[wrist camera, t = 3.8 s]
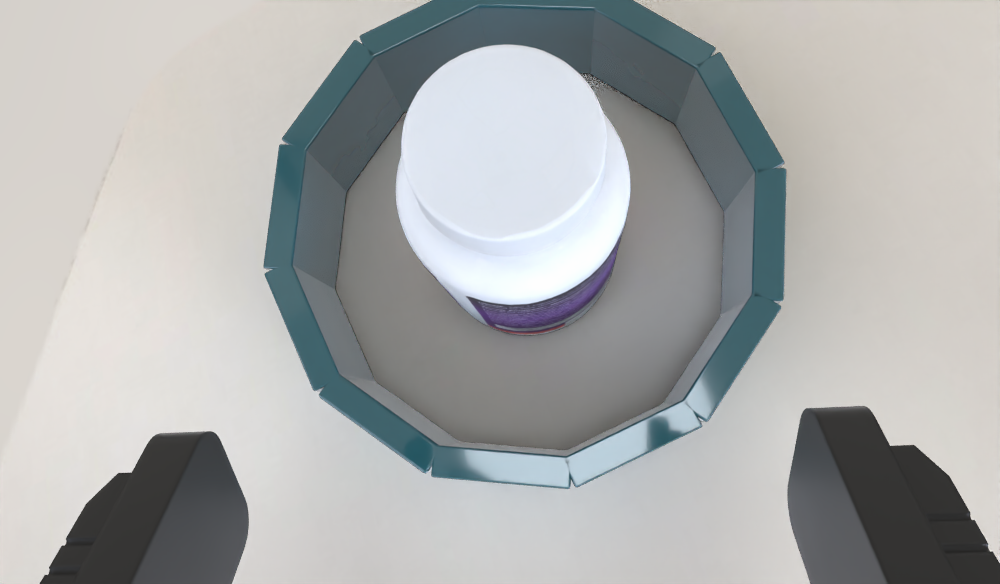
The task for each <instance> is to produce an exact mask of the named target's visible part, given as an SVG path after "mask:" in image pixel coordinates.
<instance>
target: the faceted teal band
mask: <svg viewBox="0 0 1000 584" xmlns="http://www.w3.org/2000/svg"><path fill="white" fill-rule="evenodd" d="M360 40H361V42H362V44H361V43H360V42H358V41H357V40H354V41H353V43H352V44H351V45H350V47H349V48H348V49H347V51H346V52H345V54H344V55H343V56H342V58H341V59H340V60H339V62H338V63H337V64H336V66H335V67H334V68H333V70H332V71H331V73H330V74H329V75H328V77H327V78H326V79H325V81H324V82H323V83H322V85H321V86H320V87H319V89H318V90H317V92H316V93H315V94H314V96H313V97H312V98H311V100H310V101H309V102H308V104H307V105H306V106H305V108H304V109H303V111H302V112H301V113H300V115H299V116H298V117H297V119H296V120H295V121H294V123H293V124H292V125H291V127H290V128H289V130H288V131H287V132H286V134H285V135H284V136H283V138H282V140H283V141H284V142H285V143H286V144H287V145H285V144H281V145H279V151H278V159H277V167H276V174H275V182H274V190H273V197H272V205H271V213H270V220H269V228H268V236H267V243H266V251H265V259H264V268H265V269H267V270H269V271H268V272H266V273H265V277H266V279H267V282H268V284H269V287H270V289H271V291H272V294H273V296H274V298H275V301H276V303H277V306H278V308H279V310H280V313H281V315H282V317H283V320H284V322H285V324H286V327H287V329H288V332H289V334H290V336H291V339H292V341H293V343H294V346H295V348H296V350H297V353H298V355H299V358H300V360H301V362H302V365H303V367H304V369H305V372H306V374H307V377H308V379H309V381H310V384H311V386H312V388H313V390H314V391H319V392H320V394H319V397H320V398H321V399H322V400H324V401H325V402H326V403H328V404H329V405H331V406H332V407H333V408H335V409H336V410H337V411H339V412H340V413H342V414H343V415H344V416H346V417H347V418H348V419H350V420H351V421H353V422H354V423H355V424H357V425H358V426H359V427H361V428H362V429H364V430H365V431H366V432H368V433H369V434H370V435H372V436H373V437H375V438H376V439H377V440H379V441H380V442H381V443H383V444H384V445H385V446H387V447H388V448H390V449H391V450H392V451H394V452H395V453H396V454H398V455H399V456H401V457H402V458H403V459H405V460H406V461H407V462H409V463H410V464H412V465H413V466H414V467H416V468H417V469H418V470H420V471H421V472H423V473H428V472H431V476H432V477H437V478H448V479H459V480H471V481H482V482H493V483H505V484H516V485H527V486H539V487H550V488H562V489H570V484H571V480H572V482H573V484H574V486H575V487H579V486H581V485H583V484H586V483H588V482H590V481H592V480H594V479H596V478H598V477H600V476H602V475H604V474H606V473H608V472H610V471H612V470H614V469H617V468H619V467H621V466H623V465H625V464H627V463H629V462H631V461H633V460H635V459H637V458H639V457H641V456H643V455H645V454H647V453H650V452H652V451H654V450H656V449H658V448H660V447H662V446H664V445H666V444H668V443H670V442H672V441H674V440H676V439H678V438H680V437H683V436H685V435H687V434H689V433H691V432H693V431H695V430H697V429H699V428H701V427H702V424H701V422H707V421H709V419H710V418H711V416H712V415H713V413H714V411H715V410H716V408H717V407H718V405H719V404H720V402H721V401H722V399H723V398H724V396H725V394H726V393H727V391H728V390H729V388H730V387H731V385H732V384H733V382H734V381H735V379H736V377H737V376H738V374H739V373H740V371H741V370H742V368H743V367H744V365H745V364H746V362H747V360H748V359H749V357H750V356H751V354H752V353H753V351H754V350H755V348H756V347H757V345H758V343H759V342H760V340H761V339H762V337H763V336H764V334H765V333H766V331H767V329H768V328H769V326H770V325H771V323H772V322H773V320H774V319H775V317H776V316H777V314H778V312H779V311H780V309H781V306H780V305H779V304H778V303H780V302H782V301H783V300H784V265H785V215H786V169H784V168H781V166H782V165H783V164H784V160H783V159H782V157H781V155H780V153H779V152H778V150H777V148H776V147H775V145H774V143H773V141H772V140H771V138H770V136H769V134H768V133H767V131H766V129H765V128H764V126H763V124H762V122H761V121H760V119H759V117H758V116H757V114H756V112H755V110H754V109H753V107H752V105H751V104H750V102H749V100H748V98H747V97H746V95H745V93H744V92H743V90H742V88H741V86H740V85H739V83H738V81H737V80H736V78H735V76H734V74H733V73H732V71H731V69H730V68H729V66H728V64H727V62H726V61H725V59H724V57H723V56H722V54H721V53H720V52H719V53H717V54H715V55H714V52H715V50H716V48H715V47H714V46H712V45H710V44H709V43H707V42H705V41H703V40H702V39H700V38H698V37H696V36H695V35H693V34H691V33H689V32H688V31H686V30H684V29H682V28H681V27H679V26H677V25H675V24H674V23H672V22H670V21H668V20H667V19H665V18H663V17H661V16H660V15H658V14H656V13H654V12H653V11H651V10H649V9H647V8H646V7H644V6H642V5H640V4H639V3H637V2H635V1H633V0H432V1H430V2H428V3H426V4H424V5H422V6H420V7H418V8H416V9H414V10H412V11H410V12H408V13H405V14H403V15H401V16H399V17H397V18H395V19H393V20H391V21H389V22H387V23H385V24H383V25H381V26H379V27H377V28H375V29H373V30H370V31H368V32H366V33H364V34H362V35H361V36H360ZM492 45H521V46H527V47H532V48H536V49H539V50H543V51H545V52H547V53H549V54H552V55H554V56H556V57H558V58H559V59H561V60H563V61H565V62H566V63H567V64H568V65H570V66H571V67H572V68H573V69H574V70H576V71H577V72H578V73H590V74H592V75H593V76H595V77H597V78H598V79H600V80H602V81H603V82H605V83H607V84H608V85H610V86H612V87H613V88H615V89H617V90H618V91H620V92H622V93H623V94H625V95H627V96H628V97H630V98H632V99H633V100H635V101H637V102H638V103H640V104H642V105H643V106H645V107H647V108H649V109H650V110H652V111H654V112H655V113H657V114H659V115H660V116H662V117H664V118H665V119H667V120H669V121H670V122H672V123H674V124H675V125H676V127H677V129H678V130H679V132H680V134H681V136H682V137H683V139H684V141H685V143H686V145H687V146H688V148H689V150H690V152H691V154H692V155H693V157H694V159H695V161H696V163H697V164H698V166H699V168H700V170H701V172H702V173H703V175H704V177H705V179H706V180H707V182H708V184H709V186H710V188H711V189H712V191H713V193H714V195H715V197H716V198H717V200H718V202H719V204H720V206H721V207H722V209H723V211H724V236H723V266H722V297H721V315H720V317H719V319H718V320H717V322H716V323H715V325H714V326H713V328H712V329H711V331H710V332H709V334H708V335H707V337H706V338H705V340H704V341H703V343H702V345H701V346H700V348H699V349H698V351H697V352H696V354H695V355H694V357H693V358H692V360H691V361H690V363H689V364H688V366H687V367H686V369H685V370H684V372H683V374H682V375H681V377H680V378H679V380H678V381H677V383H676V384H675V386H674V387H673V389H672V390H671V392H670V393H669V395H668V396H667V398H666V400H665V401H664V403H663V404H661V405H659V406H657V407H654V408H652V409H650V410H648V411H646V412H644V413H642V414H640V415H638V416H636V417H634V418H632V419H630V420H628V421H626V422H624V423H621V424H619V425H617V426H615V427H613V428H611V429H609V430H607V431H605V432H603V433H601V434H599V435H597V436H595V437H593V438H590V439H588V440H586V441H584V442H582V443H580V444H578V445H576V446H574V447H572V448H570V449H568V450H557V449H545V448H533V447H521V446H509V445H497V444H485V443H473V442H461V441H458V440H457V439H456V438H454V437H453V436H451V435H450V434H449V433H447V432H446V431H444V430H443V429H442V428H440V427H439V426H437V425H436V424H434V423H433V422H432V421H430V420H429V419H427V418H426V417H425V416H423V415H422V414H420V413H419V412H418V411H416V410H415V409H413V408H412V407H411V406H409V405H408V404H406V403H405V402H404V401H402V400H401V399H399V398H398V397H397V396H395V395H394V394H392V393H391V392H390V391H388V390H387V389H385V388H384V387H383V386H381V385H380V384H378V383H377V382H376V381H375V379H374V377H373V375H372V372H371V370H370V368H369V366H368V363H367V361H366V359H365V356H364V354H363V352H362V350H361V347H360V345H359V343H358V341H357V338H356V336H355V334H354V331H353V329H352V327H351V325H350V322H349V320H348V318H347V316H346V313H345V311H344V309H343V306H342V304H341V302H340V300H339V297H338V295H337V293H336V291H335V287H336V278H337V269H338V260H339V252H340V243H341V234H342V226H343V217H344V208H345V199H346V192H347V190H348V189H349V188H350V186H351V185H352V184H353V182H354V181H355V179H356V178H357V177H358V175H359V174H360V172H361V171H362V170H363V168H364V167H365V166H366V164H367V163H368V161H369V160H370V159H371V157H372V156H373V154H374V153H375V152H376V150H377V149H378V148H379V146H380V145H381V143H382V142H383V141H384V139H385V138H386V136H387V135H388V134H389V132H390V131H391V130H392V128H393V127H394V125H395V124H396V123H397V121H398V120H399V118H400V117H401V116H402V114H403V113H404V112H406V111H408V109H409V107H410V105H411V103H412V101H413V99H414V98H415V96H416V94H417V92H418V91H419V89H420V88H421V87H422V85H423V84H424V83H425V82H426V81H427V80H428V79H429V77H430V76H431V75H432V74H434V73H435V72H436V71H437V70H438V69H439V68H440V67H442V66H443V65H444V64H446V63H447V62H449V61H451V60H452V59H454V58H456V57H458V56H460V55H462V54H464V53H466V52H469V51H472V50H475V49H478V48H482V47H487V46H492Z"/></svg>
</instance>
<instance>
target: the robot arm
mask: <svg viewBox="0 0 1000 584" xmlns="http://www.w3.org/2000/svg"><path fill="white" fill-rule="evenodd" d="M788 509H789V516H790V521H791V526H792V529H793V533H794V536H795V539H796V542H797V545H798V548H799V551H800V554H801V557H802V560H803V563H804V566H805V568H806V571H807V574H808V577H809V580H810V583H811V584H1000V563H999V562H998V560H997V558H996V557H995V555H994V553H993V552H990V551H989V549H988V543H987V541H986V539H985V537H984V536H983V534H982V532H981V531H980V529H979V527H978V525H977V524H976V522H975V520H971V518H970V511H969V510H968V508H967V506H966V504H965V503H964V501H963V499H962V498H961V496H960V494H959V492H958V491H957V489H956V487H955V485H954V484H953V482H952V480H951V478H950V477H949V476H948V475H947V474H946V473H945V472H944V471H943V470H942V469H941V468H939V467H938V466H937V465H936V464H935V463H934V462H933V461H931V460H930V459H929V458H928V457H927V456H926V455H925V454H924V453H922V452H921V451H920V450H919V449H918V448H917V447H916V446H914V445H904V446H890V445H889V443H888V441H887V439H886V437H885V435H884V434H883V432H882V430H881V428H880V426H879V424H878V422H877V420H876V418H875V416H874V415H873V413H872V412H871V410H870V409H868V408H867V407H865V406H853V407H829V408H806V409H805V410H804V411H803V413H802V415H801V419H800V424H799V429H798V435H797V440H796V445H795V450H794V456H793V461H792V466H791V471H790V477H789V482H788ZM248 526H249V517H248V507H247V503H246V500H245V497H244V495H243V493H242V490H241V488H240V486H239V483H238V481H237V478H236V476H235V474H234V471H233V469H232V467H231V464H230V462H229V460H228V457H227V455H226V452H225V450H224V448H223V445H222V443H221V441H220V439H219V437H218V436H217V435H216V434H215V433H214V432H211V431H209V432H185V433H161V434H157V435H155V436H154V437H153V438H152V439H151V440H150V441H149V443H148V444H147V446H146V448H145V449H144V451H143V453H142V455H141V457H140V459H139V460H138V462H137V464H136V466H135V468H134V470H133V471H132V473H118V474H117V475H116V476H115V477H114V478H113V479H112V480H111V481H110V482H109V483H108V484H106V485H105V486H104V487H103V488H102V489H101V490H100V491H99V492H98V493H97V494H96V495H95V496H94V497H93V498H92V499H91V500H90V501H89V502H88V503H87V504H86V505H85V507H84V509H83V510H82V512H81V514H80V516H79V517H78V519H77V521H76V522H75V524H74V526H73V528H72V529H71V531H70V533H69V534H68V536H67V538H66V541H67V542H66V545H65V546H61V548H60V550H59V552H58V553H57V555H56V557H55V558H54V560H53V562H52V564H51V565H50V567H49V569H50V572H49V574H48V575H45V576H44V577H43V579H42V581H41V582H40V584H232V582H233V579H234V576H235V573H236V570H237V567H238V565H239V562H240V559H241V556H242V553H243V550H244V548H245V544H246V540H247V535H248Z"/></svg>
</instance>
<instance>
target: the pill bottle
mask: <svg viewBox="0 0 1000 584" xmlns="http://www.w3.org/2000/svg"><path fill="white" fill-rule="evenodd" d="M401 153H402V155H401V158H400V161H399V165H398V171H397V178H396V203H397V210H398V215H399V219H400V222H401V225H402V228H403V231H404V233H405V236H406V238H407V240H408V242H409V244H410V246H411V247H412V249H413V250H414V252H415V253H416V255H417V256H418V258H419V260H420V261H421V262H422V264H423V265H424V266H425V267H426V269H427V270H428V271H429V272H430V273H431V274H432V275H433V276H434V277H435V279H436V280H437V281H438V282H439V283H440V284H441V285H442V286H443V287H444V288H445V289H446V290H447V292H448V293H449V294H450V295H451V296H452V297H453V298H454V299H455V300H456V302H457V303H458V304H459V305H460V306H461V307H462V308H463V309H465V310H466V311H467V312H468V313H469V314H470V315H472V316H473V317H474V318H475V319H477V320H478V321H480V322H481V323H483V324H485V325H487V326H489V327H491V328H493V329H496V330H499V331H502V332H506V333H510V334H516V335H539V334H545V333H549V332H553V331H556V330H559V329H561V328H563V327H565V326H567V325H569V324H571V323H573V322H574V321H576V320H577V319H579V318H580V317H581V316H583V315H584V314H585V313H586V312H587V311H588V310H589V309H590V308H591V307H592V306H593V305H594V304H595V303H596V301H597V300H598V299H599V297H600V296H601V294H602V293H603V291H604V289H605V287H606V285H607V283H608V281H609V279H610V276H611V274H612V270H613V267H614V263H615V258H616V254H617V250H618V246H619V243H620V239H621V236H622V233H623V229H624V226H625V223H626V218H627V213H628V207H629V201H630V190H631V185H630V171H629V165H628V160H627V157H626V153H625V150H624V147H623V144H622V142H621V140H620V138H619V136H618V134H617V132H616V130H615V128H614V126H613V125H612V123H611V122H610V120H609V119H608V118H607V117H606V115H605V114H604V113H603V111H602V108H601V106H600V104H599V101H598V99H597V97H596V95H595V93H594V92H593V90H592V88H591V87H590V86H589V84H588V83H587V82H586V80H585V79H584V78H583V77H582V76H581V75H580V74H579V73H578V72H577V71H576V70H574V69H573V68H572V67H571V66H570V65H568V64H567V63H566V62H565V61H563V60H561V59H559V58H558V57H556V56H554V55H552V54H549V53H547V52H545V51H543V50H539V49H536V48H532V47H527V46H521V45H492V46H487V47H482V48H478V49H475V50H472V51H469V52H466V53H464V54H462V55H460V56H458V57H456V58H454V59H452V60H451V61H449V62H447V63H446V64H444V65H443V66H442V67H440V68H439V69H438V70H437V71H436V72H435V73H434V74H432V75H431V76H430V77H429V79H428V80H427V81H426V82H425V83H424V84H423V85H422V87H421V88H420V89H419V91H418V92H417V94H416V96H415V98H414V99H413V101H412V103H411V105H410V107H409V109H408V112H407V115H406V118H405V121H404V125H403V131H402V142H401Z"/></svg>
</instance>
